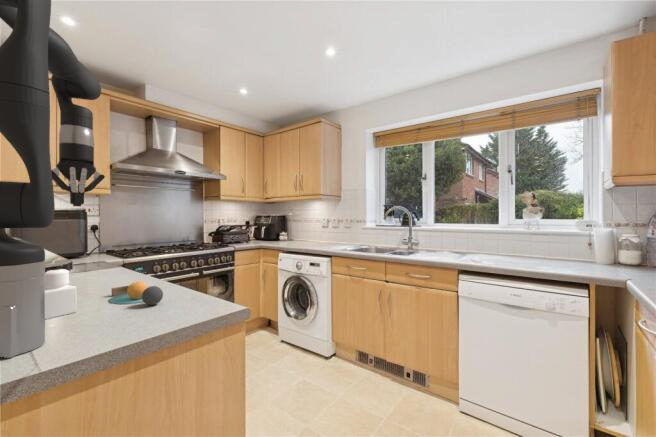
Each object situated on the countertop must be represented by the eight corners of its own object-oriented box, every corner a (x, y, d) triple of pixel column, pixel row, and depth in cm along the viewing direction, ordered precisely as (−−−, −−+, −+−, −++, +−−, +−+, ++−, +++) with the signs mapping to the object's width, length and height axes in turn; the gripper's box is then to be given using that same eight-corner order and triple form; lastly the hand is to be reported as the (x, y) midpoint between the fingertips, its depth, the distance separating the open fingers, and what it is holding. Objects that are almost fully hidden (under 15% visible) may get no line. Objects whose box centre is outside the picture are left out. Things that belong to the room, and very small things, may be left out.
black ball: (153, 279, 92) (150, 294, 94) (138, 288, 87) (136, 303, 89) (168, 287, 91) (165, 301, 93) (154, 296, 86) (151, 311, 88)
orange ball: (141, 280, 94) (134, 276, 97) (126, 294, 91) (120, 290, 94) (154, 290, 97) (147, 287, 100) (140, 304, 94) (133, 300, 97)
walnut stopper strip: (142, 290, 106) (142, 283, 106) (143, 291, 105) (143, 284, 105) (111, 295, 99) (111, 288, 99) (112, 296, 98) (112, 288, 98)
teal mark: (149, 303, 92) (149, 302, 92) (98, 304, 89) (98, 304, 89) (166, 291, 105) (166, 290, 105) (122, 292, 103) (122, 292, 103)
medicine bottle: (31, 315, 80) (30, 270, 79) (64, 308, 86) (64, 266, 86) (43, 320, 76) (43, 273, 76) (77, 312, 83) (77, 268, 82)
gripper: (102, 150, 92) (102, 207, 92) (42, 141, 82) (42, 205, 82) (109, 146, 87) (109, 206, 88) (47, 137, 77) (47, 205, 78)
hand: (76, 206), depth 85 cm, fingers closed
